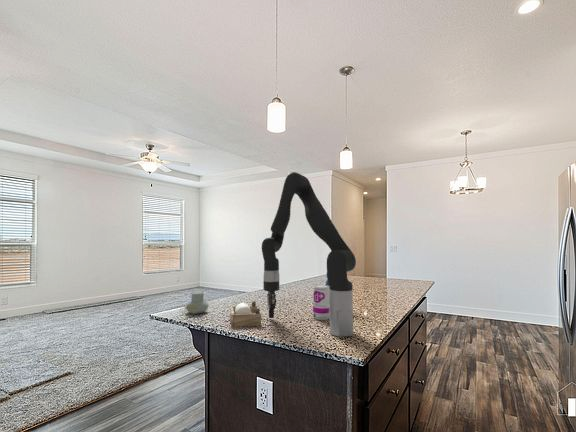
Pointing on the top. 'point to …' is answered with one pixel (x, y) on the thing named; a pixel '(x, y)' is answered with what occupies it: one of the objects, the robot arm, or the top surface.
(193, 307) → the air freshener
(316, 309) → the supplement can
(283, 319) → the top surface
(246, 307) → the roll
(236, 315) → the holder
